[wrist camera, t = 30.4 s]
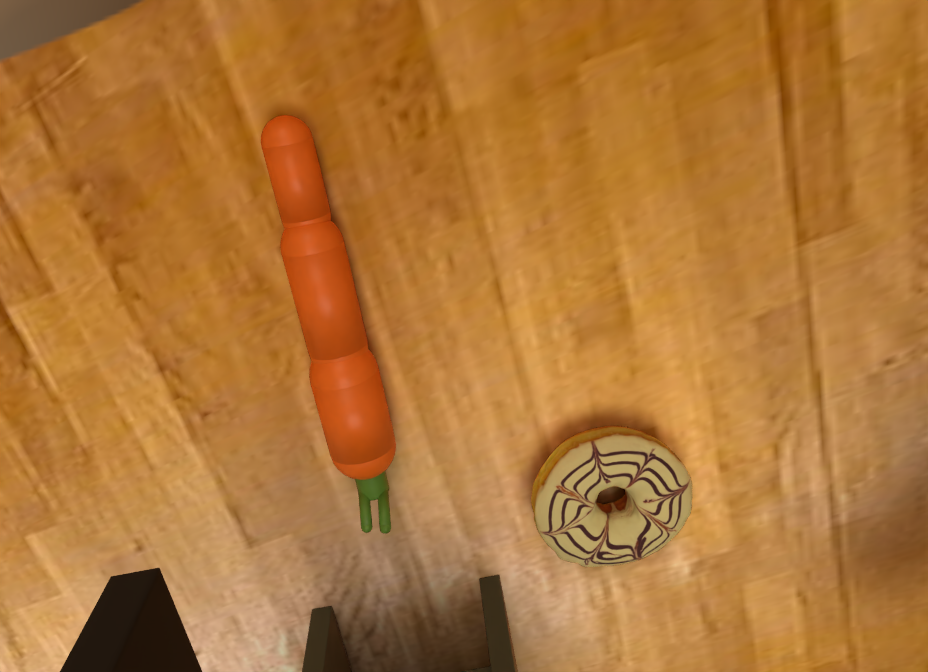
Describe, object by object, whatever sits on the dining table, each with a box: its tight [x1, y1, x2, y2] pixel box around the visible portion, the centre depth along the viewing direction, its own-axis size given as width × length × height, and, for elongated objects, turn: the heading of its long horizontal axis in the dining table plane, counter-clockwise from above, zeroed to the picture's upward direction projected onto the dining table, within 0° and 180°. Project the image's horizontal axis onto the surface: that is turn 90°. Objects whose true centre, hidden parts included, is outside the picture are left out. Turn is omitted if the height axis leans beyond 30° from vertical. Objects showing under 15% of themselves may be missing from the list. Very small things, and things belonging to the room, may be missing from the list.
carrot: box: [261, 115, 396, 534], centre depth 45 cm, size 25×4×5 cm, turn 9°
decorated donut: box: [531, 426, 692, 567], centre depth 51 cm, size 10×11×4 cm
